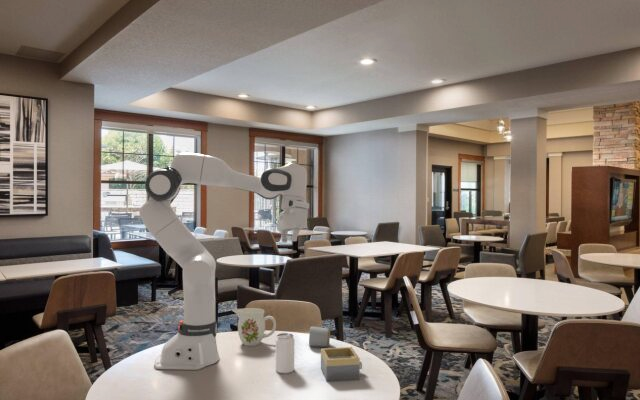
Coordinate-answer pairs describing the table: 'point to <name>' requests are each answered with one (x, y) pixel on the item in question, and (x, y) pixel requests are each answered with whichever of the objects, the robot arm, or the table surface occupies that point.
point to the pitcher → (252, 325)
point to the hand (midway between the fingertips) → (288, 241)
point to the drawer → (340, 364)
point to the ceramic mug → (319, 337)
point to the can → (284, 353)
